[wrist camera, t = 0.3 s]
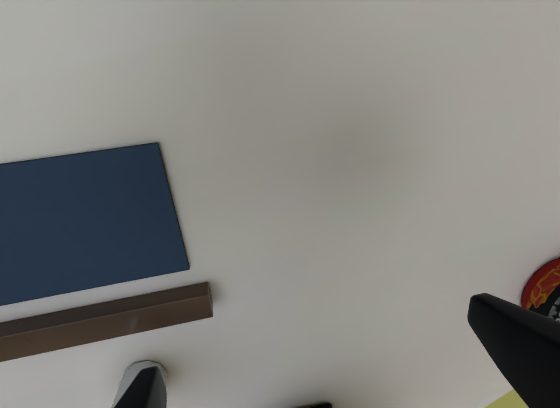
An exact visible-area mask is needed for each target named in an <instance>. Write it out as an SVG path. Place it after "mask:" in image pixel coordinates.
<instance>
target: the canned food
mask: <svg viewBox="0 0 560 408" xmlns="http://www.w3.org/2000/svg"><path fill="white" fill-rule="evenodd" d="M522 307H523V308H525V309H528V310H530V311H533V312H536V313H538V314H541V315H543V316H546V317H548V318H551V319H553V320H556V321H558V322H560V258H559V259H556V260H554V261H552V262H550V263H548V264H547V265H545V266H543V267H542V268H541V269H540V270H538V271H537V272H536V273H535V274H534V276H533V277H532V278H531V279H530V281H529V282H528V284H527V285H526V287H525V290H524V292H523V296H522Z"/></svg>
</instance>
